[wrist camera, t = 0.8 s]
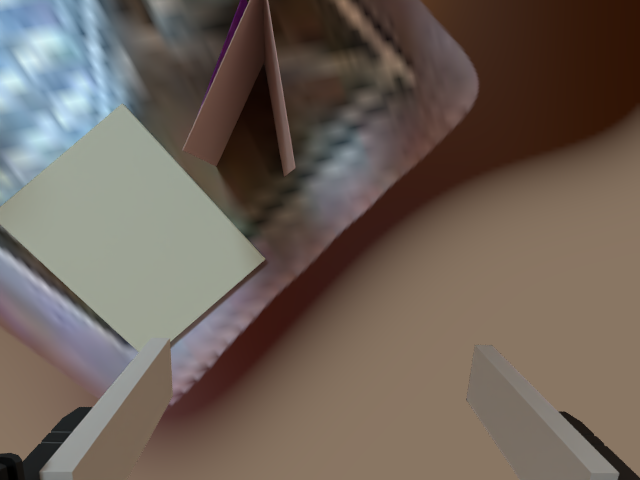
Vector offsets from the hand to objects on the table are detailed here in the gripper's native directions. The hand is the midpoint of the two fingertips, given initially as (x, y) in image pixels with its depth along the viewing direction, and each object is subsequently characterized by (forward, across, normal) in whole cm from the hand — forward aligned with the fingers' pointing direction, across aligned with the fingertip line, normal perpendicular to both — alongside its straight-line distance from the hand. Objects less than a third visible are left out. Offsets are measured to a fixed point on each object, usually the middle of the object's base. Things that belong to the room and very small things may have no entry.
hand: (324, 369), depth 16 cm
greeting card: (+25, -5, +12) cm, 28 cm away
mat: (+22, -18, 0) cm, 28 cm away
